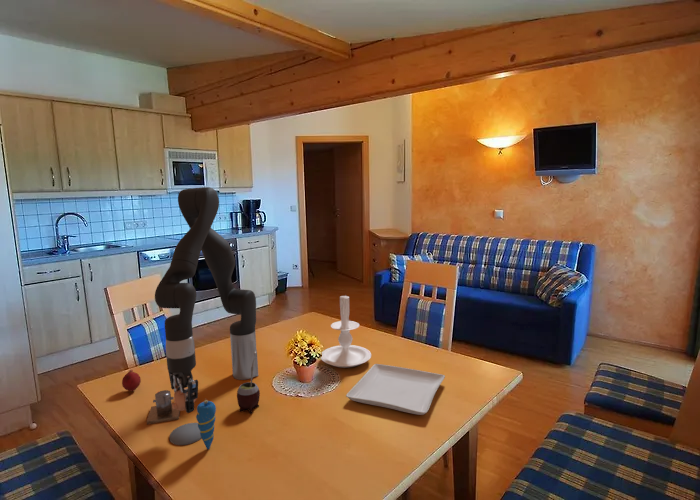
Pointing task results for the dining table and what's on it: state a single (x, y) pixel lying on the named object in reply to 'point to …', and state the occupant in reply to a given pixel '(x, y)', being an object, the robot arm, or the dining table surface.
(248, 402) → the mate gourd
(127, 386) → the onion
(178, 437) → the coaster
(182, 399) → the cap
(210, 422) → the ornament
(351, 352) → the candlestick
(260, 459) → the dining table surface
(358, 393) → the square plate
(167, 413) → the cylinder on square base
